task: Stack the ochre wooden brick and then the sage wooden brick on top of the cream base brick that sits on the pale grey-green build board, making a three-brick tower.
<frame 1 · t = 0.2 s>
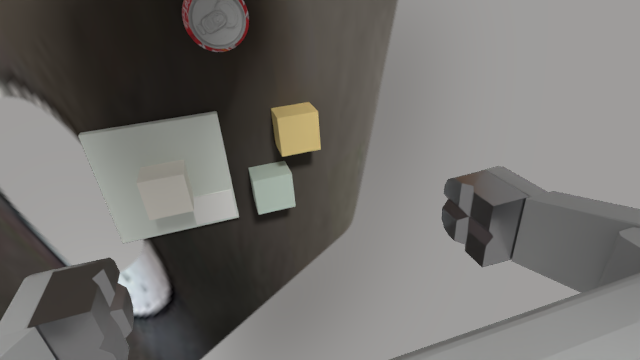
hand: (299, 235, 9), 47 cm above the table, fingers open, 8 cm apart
build board: (168, 177, 56), on the table
ochre brick: (291, 123, 59), on the table
soda can: (211, 12, 48), on the table
sage brick: (269, 180, 62), on the table
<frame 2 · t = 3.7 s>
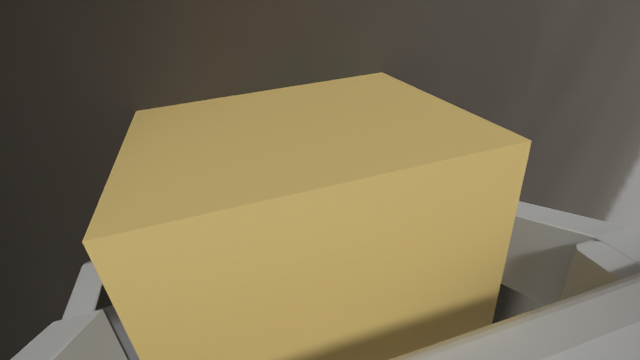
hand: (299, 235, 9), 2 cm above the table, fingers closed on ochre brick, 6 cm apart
ochre brick: (283, 195, 10), on the table, touching gripper
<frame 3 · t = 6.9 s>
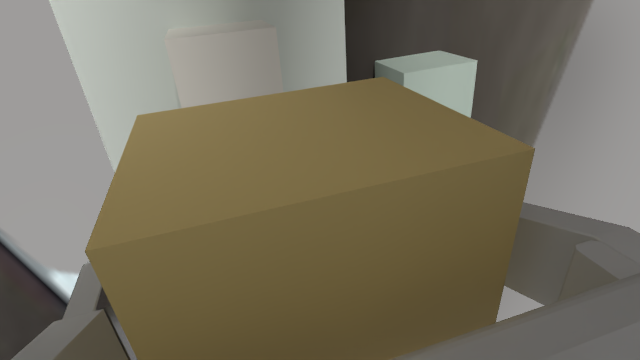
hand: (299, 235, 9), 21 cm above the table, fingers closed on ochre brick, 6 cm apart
build board: (223, 67, 27), on the table
ochre brick: (284, 199, 10), point 20 cm above the table, touching gripper
sage brick: (406, 90, 32), on the table
when the fingers open (9 cm above the table, at t = 9.7 s): ochre brick stays where it is, resting on build board.
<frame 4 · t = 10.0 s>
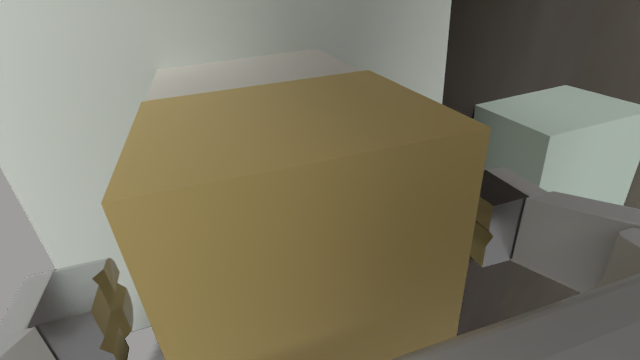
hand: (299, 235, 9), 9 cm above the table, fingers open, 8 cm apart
build board: (249, 123, 17), on the table
ochre brick: (276, 184, 11), point 6 cm above the table, touching build board
sage brick: (512, 143, 22), on the table
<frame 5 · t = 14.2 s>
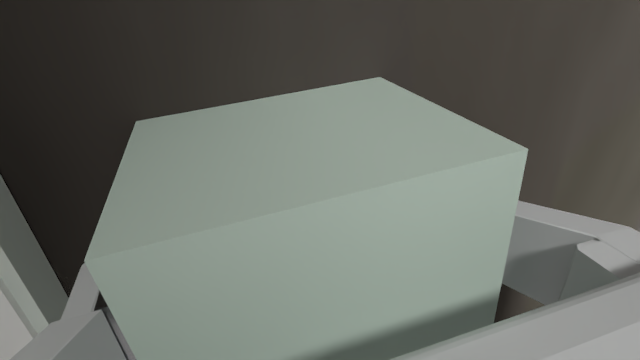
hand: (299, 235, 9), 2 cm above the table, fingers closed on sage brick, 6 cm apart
sage brick: (284, 201, 11), on the table, touching gripper
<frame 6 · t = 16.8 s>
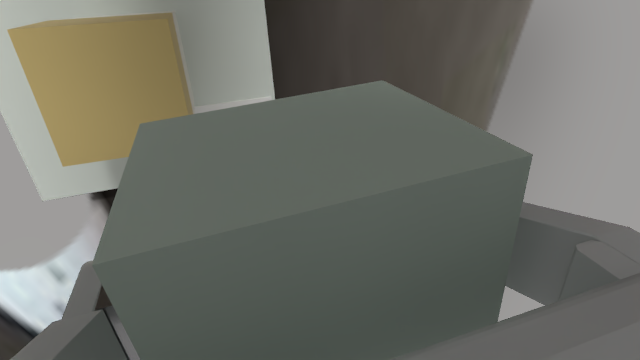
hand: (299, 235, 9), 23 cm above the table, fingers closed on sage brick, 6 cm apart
build board: (141, 59, 26), on the table
ochre brick: (128, 74, 21), point 6 cm above the table, touching build board
sage brick: (286, 203, 11), point 21 cm above the table, touching gripper
when the fingers open (14 cm above the table, at t = 19.4 s): sage brick stays where it is, resting on ochre brick.
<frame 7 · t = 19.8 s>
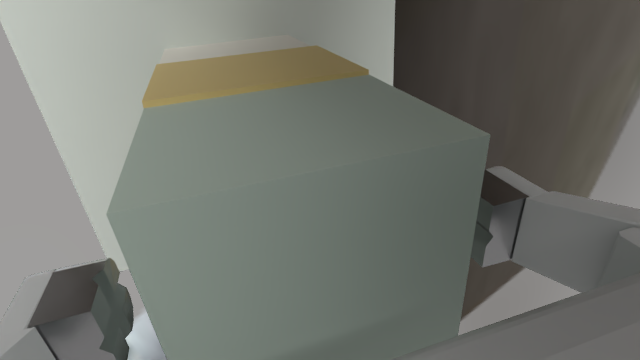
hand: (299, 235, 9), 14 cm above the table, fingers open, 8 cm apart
build board: (236, 95, 21), on the table
ochre brick: (252, 129, 15), point 6 cm above the table, touching build board, sage brick
sage brick: (278, 188, 11), point 11 cm above the table, touching ochre brick
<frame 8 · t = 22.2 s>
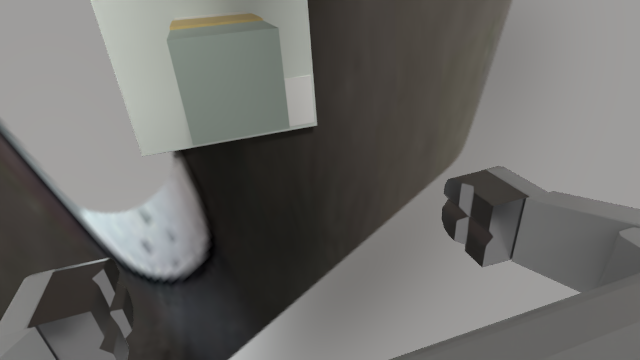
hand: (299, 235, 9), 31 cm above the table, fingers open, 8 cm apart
build board: (215, 47, 35), on the table
ochre brick: (220, 57, 30), point 6 cm above the table, touching build board, sage brick
sage brick: (226, 71, 26), point 11 cm above the table, touching ochre brick
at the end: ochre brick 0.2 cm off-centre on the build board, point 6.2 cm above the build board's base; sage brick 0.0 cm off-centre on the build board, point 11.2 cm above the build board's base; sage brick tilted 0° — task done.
